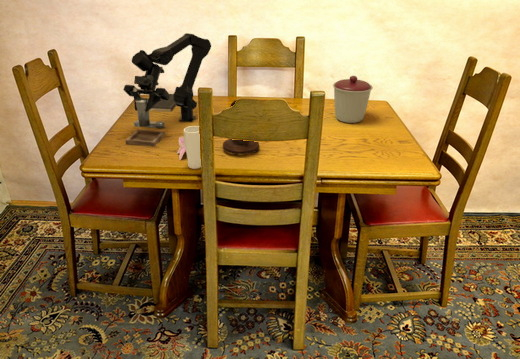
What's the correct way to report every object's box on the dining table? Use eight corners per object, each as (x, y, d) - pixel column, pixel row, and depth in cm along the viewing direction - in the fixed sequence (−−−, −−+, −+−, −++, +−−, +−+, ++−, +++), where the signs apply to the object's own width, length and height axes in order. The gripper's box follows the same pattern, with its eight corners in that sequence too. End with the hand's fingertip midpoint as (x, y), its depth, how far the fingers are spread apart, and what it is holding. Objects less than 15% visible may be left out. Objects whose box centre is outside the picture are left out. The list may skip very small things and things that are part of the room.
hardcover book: (140, 111, 227) (139, 106, 226) (153, 97, 248) (153, 93, 246) (171, 112, 226) (171, 108, 225) (182, 98, 246) (182, 94, 245)
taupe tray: (138, 134, 201) (137, 129, 200) (165, 136, 199) (164, 131, 198) (125, 145, 190) (125, 140, 189) (154, 147, 188) (153, 142, 187)
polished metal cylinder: (141, 122, 193) (138, 97, 188) (151, 123, 193) (149, 98, 187) (137, 126, 189) (133, 101, 184) (147, 127, 188) (144, 101, 183)
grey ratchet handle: (133, 127, 207) (133, 122, 206) (137, 123, 210) (136, 119, 209) (163, 129, 205) (162, 124, 204) (166, 125, 208) (165, 121, 207)
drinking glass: (201, 171, 168) (198, 133, 161) (183, 169, 169) (180, 131, 162) (206, 163, 174) (204, 126, 167) (189, 161, 175) (187, 125, 168)
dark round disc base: (216, 147, 188) (214, 100, 178) (247, 140, 195) (247, 94, 185) (233, 160, 177) (232, 111, 167) (265, 152, 183) (266, 105, 174)
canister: (366, 128, 208) (371, 83, 198) (326, 123, 213) (330, 79, 203) (370, 115, 223) (375, 72, 213) (333, 111, 228) (337, 69, 218)
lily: (182, 149, 188) (169, 133, 182) (207, 140, 185) (195, 123, 179) (179, 169, 180) (166, 153, 173) (206, 160, 177) (194, 143, 170)
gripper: (122, 65, 186) (111, 99, 181) (163, 68, 181) (153, 104, 177) (135, 79, 196) (124, 111, 192) (174, 83, 191) (164, 116, 187)
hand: (141, 110), depth 187 cm, fingers closed on polished metal cylinder, 5 cm apart
